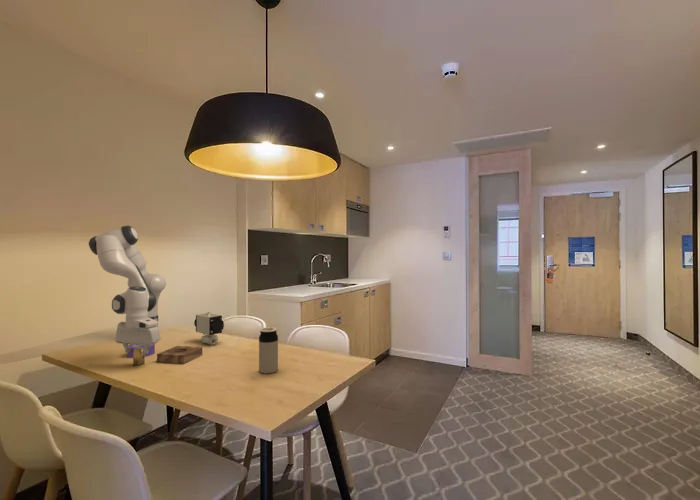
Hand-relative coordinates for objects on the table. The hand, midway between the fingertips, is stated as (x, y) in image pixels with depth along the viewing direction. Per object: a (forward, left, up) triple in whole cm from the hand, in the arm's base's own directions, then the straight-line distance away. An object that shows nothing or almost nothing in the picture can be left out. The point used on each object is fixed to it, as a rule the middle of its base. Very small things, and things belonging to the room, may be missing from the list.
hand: (136, 352), depth 154 cm
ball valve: (+12, +39, -6) cm, 41 cm away
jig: (+14, +12, -6) cm, 19 cm away
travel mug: (+63, +4, -6) cm, 63 cm away
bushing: (+1, +1, -6) cm, 6 cm away
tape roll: (-11, +15, -6) cm, 19 cm away
